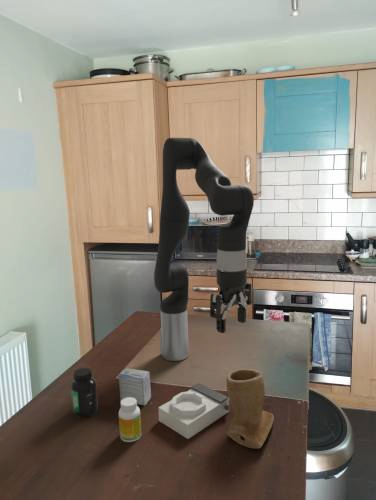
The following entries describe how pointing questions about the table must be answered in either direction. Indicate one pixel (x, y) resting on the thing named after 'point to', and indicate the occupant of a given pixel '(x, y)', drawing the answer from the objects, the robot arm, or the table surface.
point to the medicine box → (135, 385)
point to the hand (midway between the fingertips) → (231, 326)
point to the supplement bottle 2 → (129, 420)
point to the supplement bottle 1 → (84, 393)
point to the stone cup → (248, 408)
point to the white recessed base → (193, 410)
